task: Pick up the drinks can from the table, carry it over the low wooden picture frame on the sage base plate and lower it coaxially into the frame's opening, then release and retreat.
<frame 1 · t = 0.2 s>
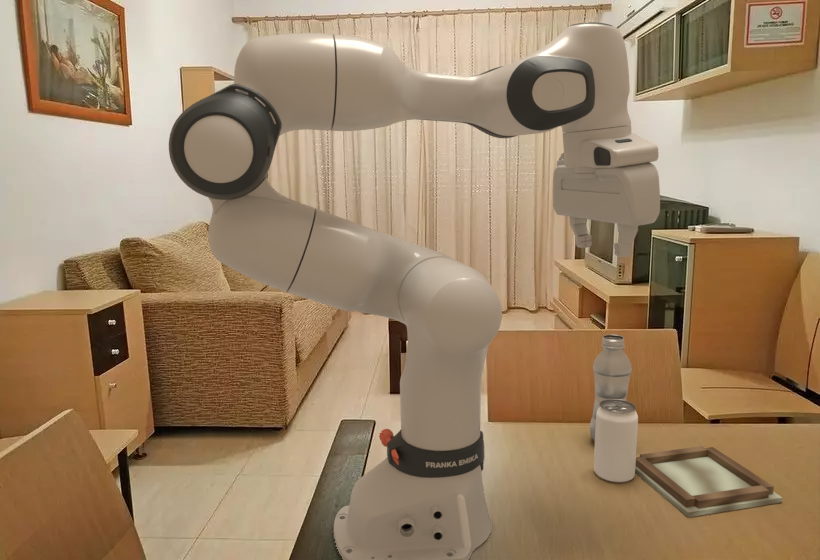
hand: (602, 251, 87), 38 cm above the table, tool pointing down, fingers open, 8 cm apart
wooden picture frame: (699, 482, 99), on the table
can: (613, 475, 103), on the table
plastic bottle: (608, 443, 114), on the table
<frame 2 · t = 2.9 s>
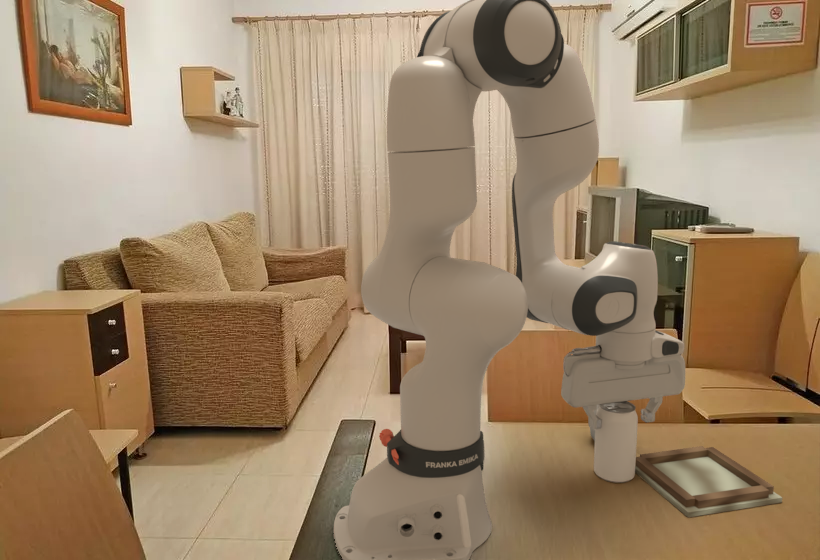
hand: (621, 424, 101), 9 cm above the table, tool pointing down, fingers open, 8 cm apart
can: (613, 475, 103), on the table, touching gripper
everything else where it was.
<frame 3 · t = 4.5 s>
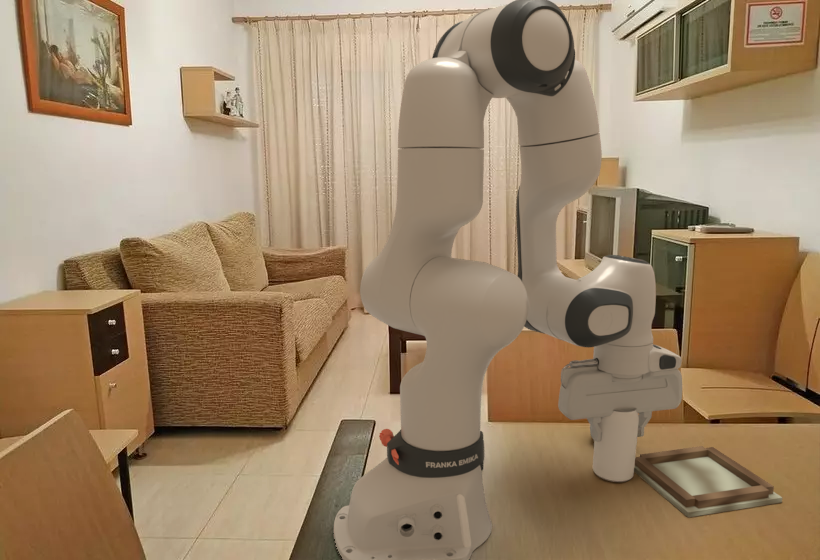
hand: (618, 437, 102), 6 cm above the table, tool pointing down, fingers closed on can, 5 cm apart
can: (612, 474, 103), on the table, touching gripper
everything else where it was.
when the fingers open (8 cm above the table, at t = 10.0 s): can moves 3 cm, resting on wooden picture frame.
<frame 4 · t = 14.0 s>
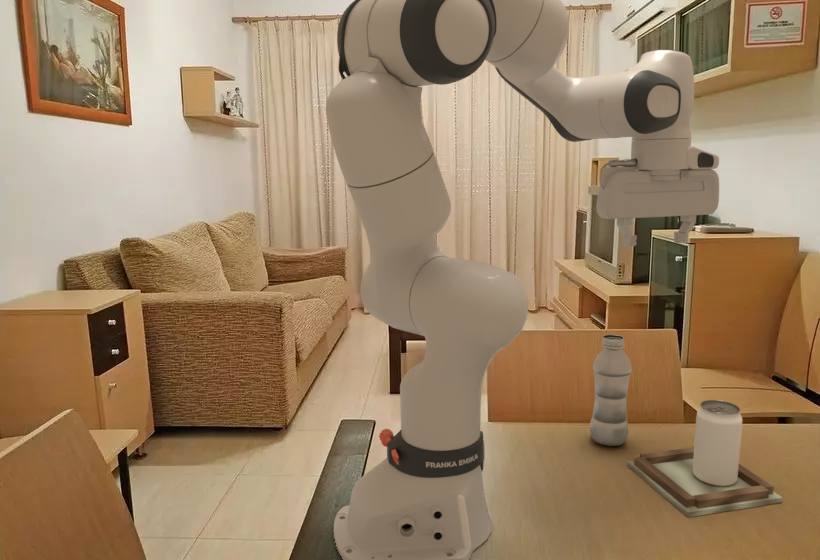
hand: (655, 244, 102), 37 cm above the table, tool pointing down, fingers open, 8 cm apart
can: (714, 478, 100), point 1 cm above the table, touching wooden picture frame
everything else where it was.
at the end: can inside the target area on the wooden picture frame (2.4 cm from its centre), point 0.6 cm above the wooden picture frame's base; can tilted 0°; the gripper is holding nothing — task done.
